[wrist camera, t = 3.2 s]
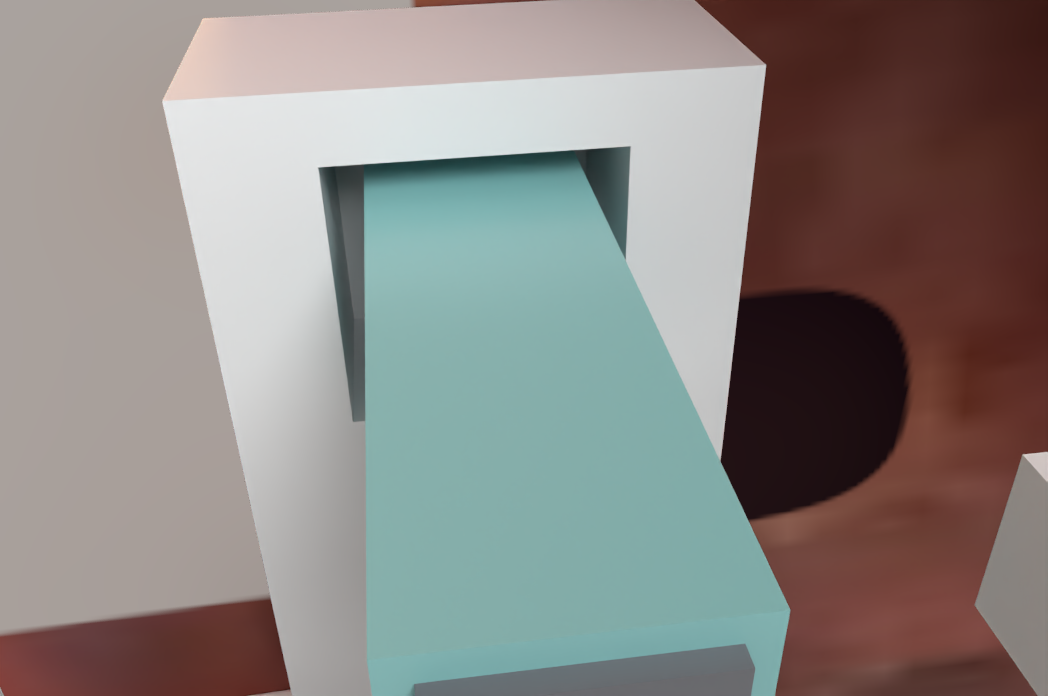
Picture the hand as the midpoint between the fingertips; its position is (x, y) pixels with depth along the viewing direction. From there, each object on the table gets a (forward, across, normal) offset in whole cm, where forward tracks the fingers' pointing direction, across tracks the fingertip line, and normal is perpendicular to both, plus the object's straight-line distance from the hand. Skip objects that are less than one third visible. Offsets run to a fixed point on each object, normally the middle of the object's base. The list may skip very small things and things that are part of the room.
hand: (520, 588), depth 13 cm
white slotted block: (+12, 0, -5) cm, 13 cm away
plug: (+11, 0, 0) cm, 11 cm away
